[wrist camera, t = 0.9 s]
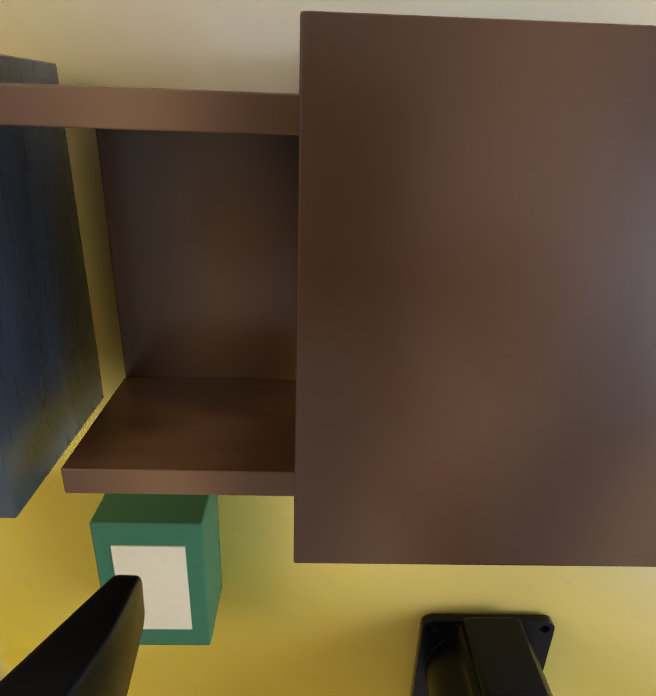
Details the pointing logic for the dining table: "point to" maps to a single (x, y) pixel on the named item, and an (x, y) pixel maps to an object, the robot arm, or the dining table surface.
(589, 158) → the cabinet
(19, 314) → the drawer
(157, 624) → the packet
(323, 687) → the dining table surface
